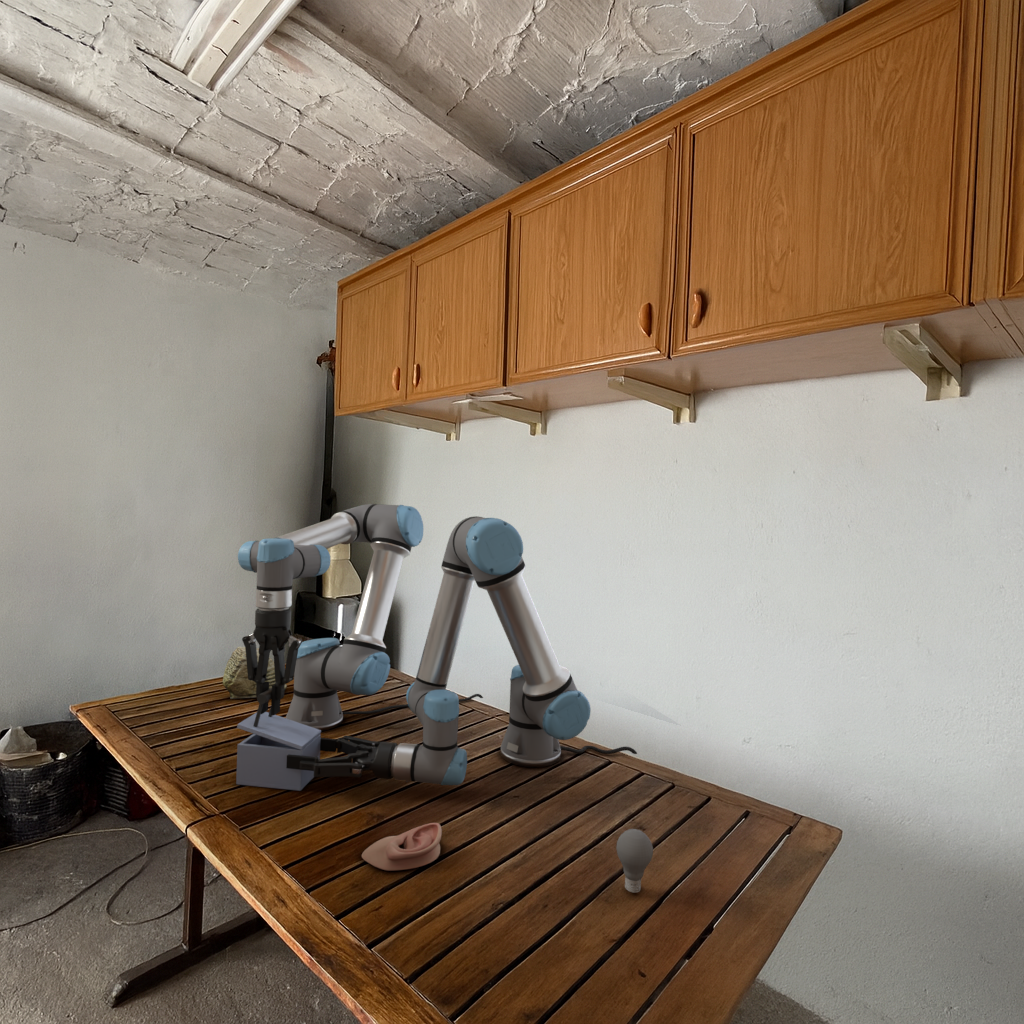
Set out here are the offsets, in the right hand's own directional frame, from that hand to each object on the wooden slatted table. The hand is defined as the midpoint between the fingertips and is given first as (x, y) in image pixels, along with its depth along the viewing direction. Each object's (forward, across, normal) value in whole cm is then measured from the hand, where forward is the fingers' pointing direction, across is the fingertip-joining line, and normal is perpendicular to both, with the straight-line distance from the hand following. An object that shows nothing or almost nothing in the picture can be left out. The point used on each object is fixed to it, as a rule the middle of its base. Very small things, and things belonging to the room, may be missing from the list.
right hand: (298, 751), depth 141 cm
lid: (+5, 0, +4) cm, 6 cm away
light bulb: (-72, -27, -6) cm, 77 cm away
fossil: (+39, +53, -6) cm, 66 cm away
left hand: (+7, 0, +8) cm, 11 cm away
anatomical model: (-31, -24, -6) cm, 40 cm away
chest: (+4, 0, -6) cm, 8 cm away
